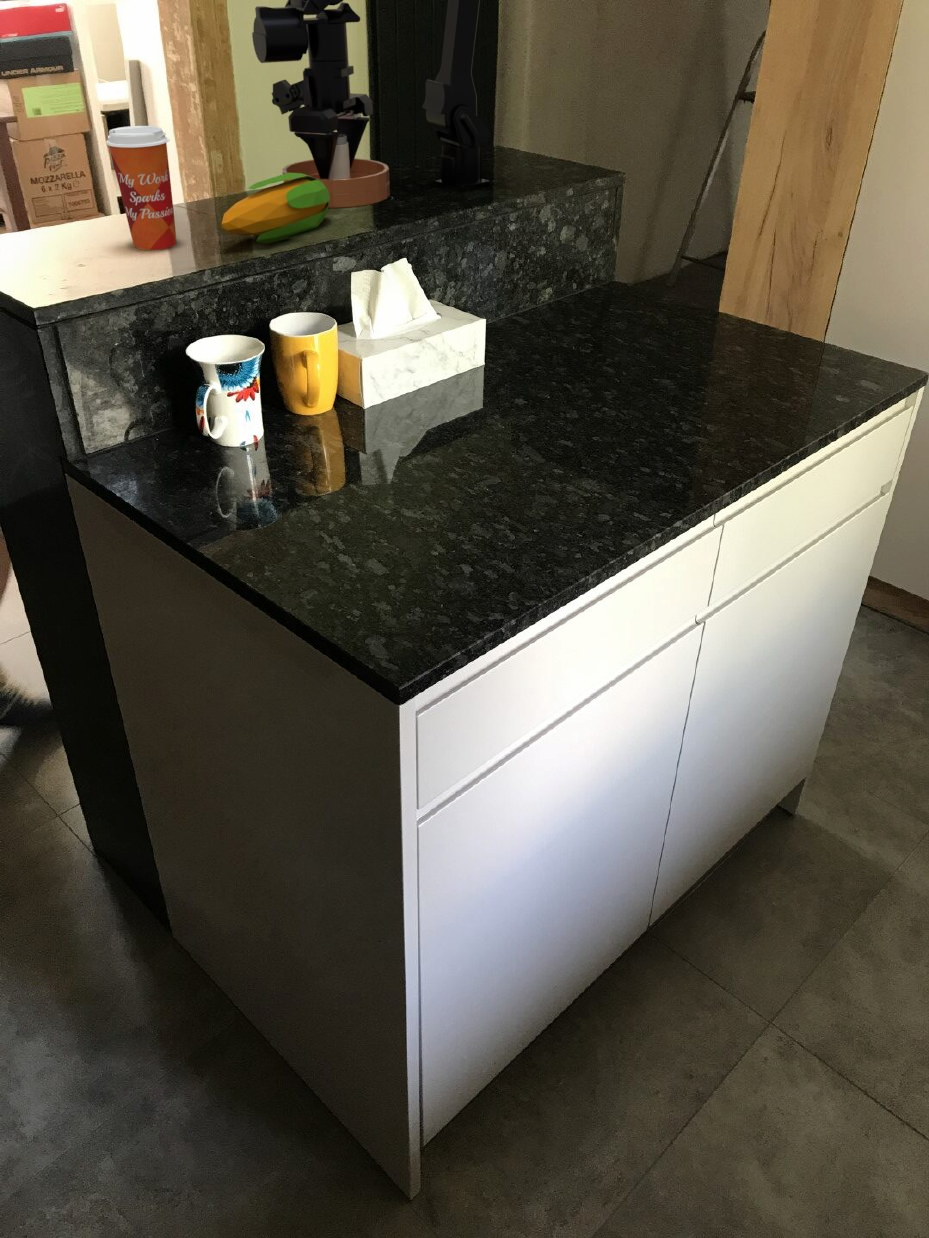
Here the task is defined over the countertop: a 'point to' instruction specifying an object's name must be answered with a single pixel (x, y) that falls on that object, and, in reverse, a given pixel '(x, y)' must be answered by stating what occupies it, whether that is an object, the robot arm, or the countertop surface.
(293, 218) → the corn
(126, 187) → the paper cup
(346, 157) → the cylinder
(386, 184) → the bowl
